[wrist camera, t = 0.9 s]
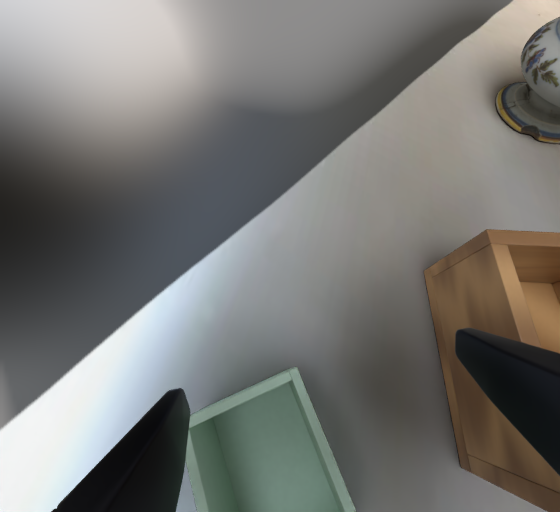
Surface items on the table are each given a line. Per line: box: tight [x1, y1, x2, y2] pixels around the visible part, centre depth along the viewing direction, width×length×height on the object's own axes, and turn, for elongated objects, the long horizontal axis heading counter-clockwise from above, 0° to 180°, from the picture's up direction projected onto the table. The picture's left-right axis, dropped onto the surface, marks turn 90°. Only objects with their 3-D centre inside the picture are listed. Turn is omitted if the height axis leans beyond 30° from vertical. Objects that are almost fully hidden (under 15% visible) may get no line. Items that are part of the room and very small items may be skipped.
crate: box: [424, 229, 560, 512], centre depth 17 cm, size 14×11×8 cm
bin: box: [185, 367, 356, 512], centre depth 15 cm, size 10×7×6 cm
